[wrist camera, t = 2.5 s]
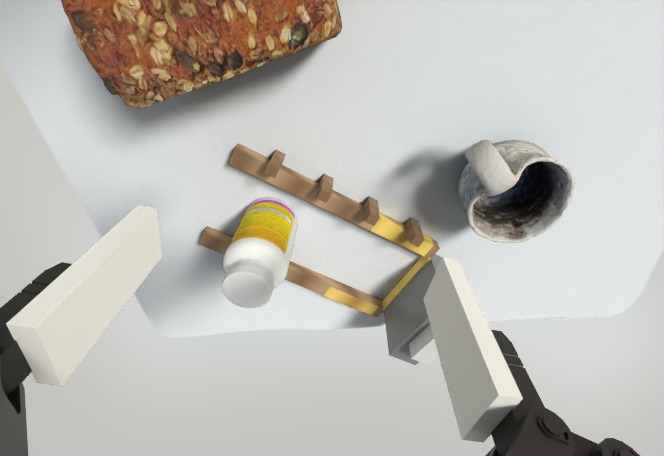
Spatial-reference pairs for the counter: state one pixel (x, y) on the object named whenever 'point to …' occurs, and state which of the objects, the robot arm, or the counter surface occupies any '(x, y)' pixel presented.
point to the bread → (191, 40)
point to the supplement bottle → (259, 252)
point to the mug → (513, 190)
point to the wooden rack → (335, 204)
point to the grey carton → (411, 314)
